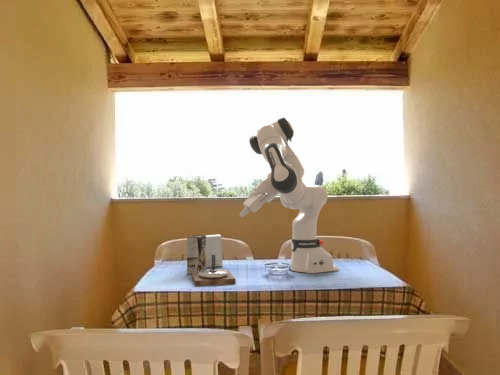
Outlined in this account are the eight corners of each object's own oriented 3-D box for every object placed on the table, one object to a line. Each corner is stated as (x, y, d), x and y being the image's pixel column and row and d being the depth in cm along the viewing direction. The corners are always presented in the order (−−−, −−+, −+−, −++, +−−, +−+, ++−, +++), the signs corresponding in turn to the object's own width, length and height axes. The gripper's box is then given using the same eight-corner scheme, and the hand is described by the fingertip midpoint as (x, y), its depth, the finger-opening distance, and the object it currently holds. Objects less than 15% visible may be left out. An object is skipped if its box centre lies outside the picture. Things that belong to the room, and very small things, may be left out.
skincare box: (220, 264, 220) (220, 234, 220) (222, 266, 214) (222, 235, 214) (203, 265, 218) (203, 234, 218) (205, 267, 212) (204, 236, 212)
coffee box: (200, 274, 197) (200, 237, 197) (186, 273, 199) (186, 237, 198) (206, 270, 206) (206, 235, 206) (193, 269, 208) (192, 234, 207)
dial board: (229, 275, 195) (229, 270, 195) (235, 283, 180) (235, 278, 180) (192, 277, 191) (192, 272, 191) (195, 285, 177) (195, 280, 176)
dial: (227, 278, 179) (227, 258, 179) (197, 278, 179) (197, 258, 179) (228, 272, 191) (227, 253, 191) (199, 272, 191) (199, 253, 191)
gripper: (273, 199, 178) (249, 224, 177) (265, 197, 198) (242, 219, 197) (262, 187, 177) (237, 212, 176) (255, 186, 197) (232, 209, 196)
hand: (240, 216), depth 187 cm, fingers closed
